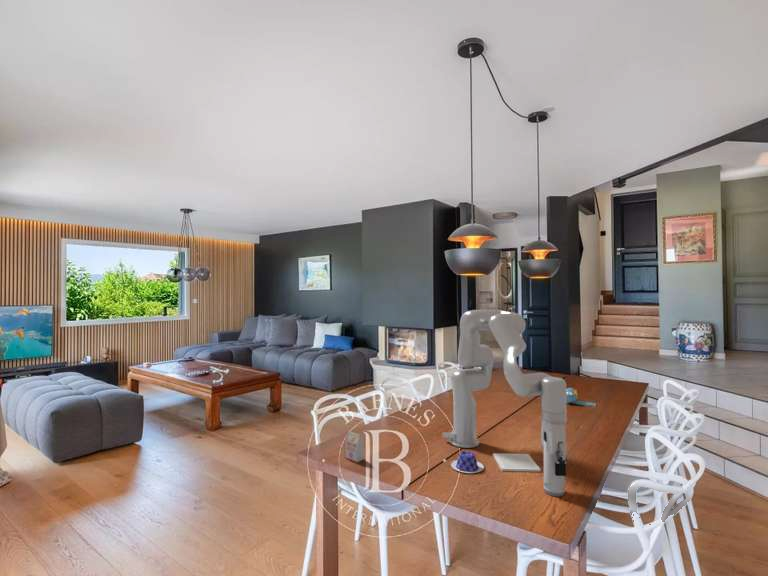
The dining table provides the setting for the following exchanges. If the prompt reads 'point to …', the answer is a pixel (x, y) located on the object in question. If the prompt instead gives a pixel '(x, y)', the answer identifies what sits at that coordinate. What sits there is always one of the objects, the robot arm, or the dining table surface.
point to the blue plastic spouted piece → (575, 398)
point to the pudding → (467, 463)
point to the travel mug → (552, 474)
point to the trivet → (516, 462)
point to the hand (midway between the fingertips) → (554, 468)
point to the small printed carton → (354, 447)
